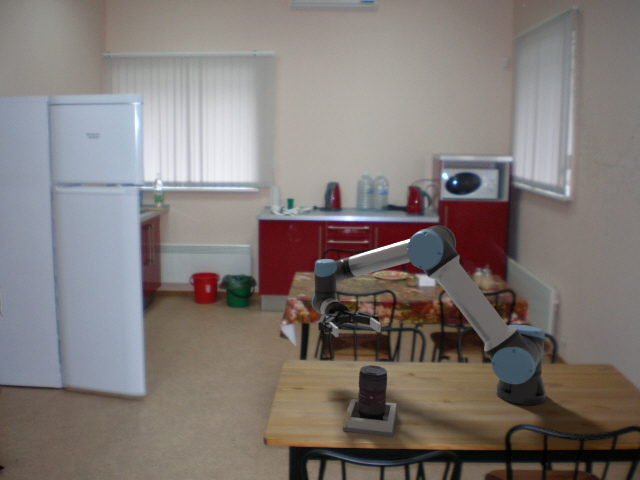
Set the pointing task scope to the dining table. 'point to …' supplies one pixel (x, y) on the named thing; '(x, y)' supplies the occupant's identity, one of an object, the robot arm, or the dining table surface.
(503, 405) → the dining table surface
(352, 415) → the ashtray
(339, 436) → the dining table surface
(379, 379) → the camera lens
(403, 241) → the robot arm
